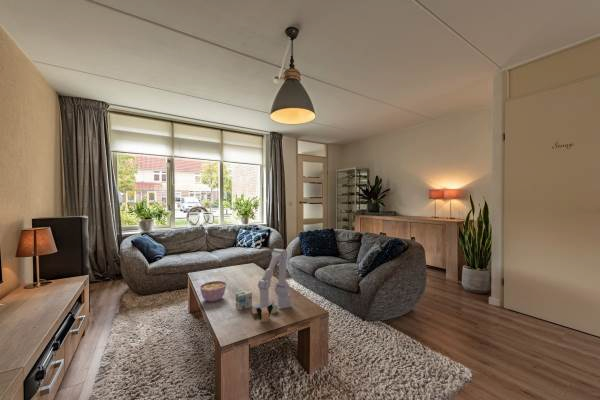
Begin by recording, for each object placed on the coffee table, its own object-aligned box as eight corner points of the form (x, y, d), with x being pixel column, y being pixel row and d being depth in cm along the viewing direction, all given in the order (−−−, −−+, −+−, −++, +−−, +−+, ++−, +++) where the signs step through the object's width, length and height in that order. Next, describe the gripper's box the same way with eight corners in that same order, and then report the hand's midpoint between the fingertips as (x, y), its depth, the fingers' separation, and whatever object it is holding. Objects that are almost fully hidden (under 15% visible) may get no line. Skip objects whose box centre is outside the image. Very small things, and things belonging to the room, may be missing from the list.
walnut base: (261, 312, 172) (261, 307, 172) (263, 316, 165) (263, 311, 165) (251, 314, 169) (251, 309, 169) (253, 318, 163) (253, 313, 163)
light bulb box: (238, 310, 174) (238, 295, 174) (235, 307, 179) (235, 292, 179) (252, 306, 180) (252, 292, 180) (248, 303, 186) (248, 289, 185)
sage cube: (273, 309, 176) (273, 301, 176) (277, 311, 172) (277, 304, 172) (267, 311, 173) (267, 303, 173) (271, 313, 169) (271, 306, 169)
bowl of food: (200, 296, 198) (200, 282, 198) (225, 293, 206) (225, 279, 205) (199, 307, 180) (199, 291, 180) (227, 302, 187) (227, 288, 187)
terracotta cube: (267, 317, 164) (267, 309, 164) (269, 321, 159) (269, 312, 159) (260, 318, 162) (259, 310, 162) (261, 322, 157) (261, 314, 157)
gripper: (271, 293, 168) (271, 312, 168) (251, 298, 160) (252, 318, 160) (276, 296, 162) (276, 316, 162) (255, 301, 154) (255, 322, 154)
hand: (264, 317), depth 161 cm, fingers closed on terracotta cube, 6 cm apart
